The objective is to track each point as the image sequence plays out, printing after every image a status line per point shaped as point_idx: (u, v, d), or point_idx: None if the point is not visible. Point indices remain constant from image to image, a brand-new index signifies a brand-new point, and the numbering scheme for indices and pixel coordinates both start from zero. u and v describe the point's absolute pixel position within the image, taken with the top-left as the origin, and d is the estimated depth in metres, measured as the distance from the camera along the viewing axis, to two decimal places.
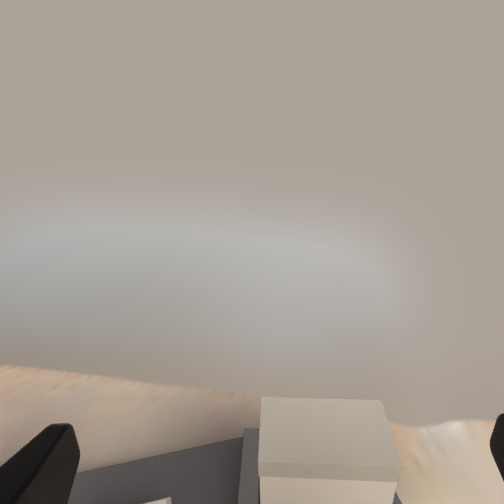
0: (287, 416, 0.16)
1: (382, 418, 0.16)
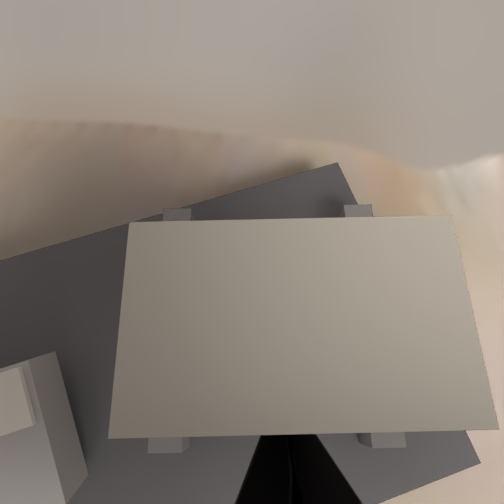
0: (196, 282, 0.06)
1: (452, 274, 0.06)
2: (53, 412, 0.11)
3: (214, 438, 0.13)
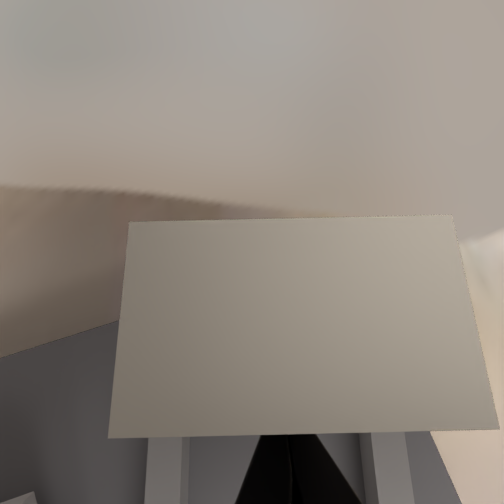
0: (196, 283, 0.06)
1: (452, 272, 0.06)
2: None
3: None
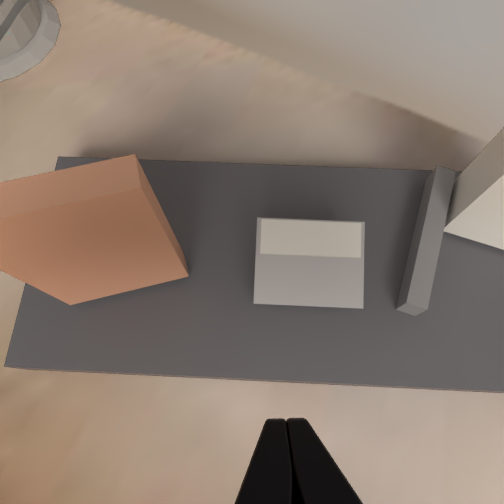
0: None
1: None
2: None
3: (431, 317, 0.20)
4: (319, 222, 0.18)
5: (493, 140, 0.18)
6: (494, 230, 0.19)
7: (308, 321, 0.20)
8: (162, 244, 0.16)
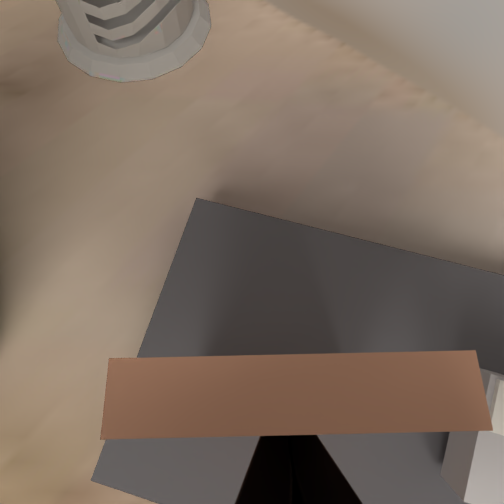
0: None
1: None
2: None
3: None
4: None
5: None
6: None
7: None
8: None
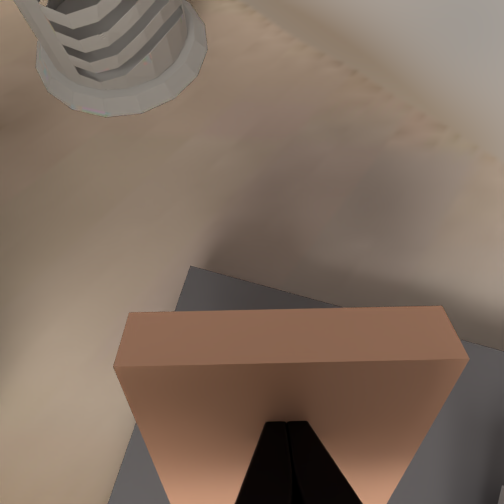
0: None
1: None
2: None
3: None
4: None
5: None
6: None
7: None
8: (393, 467, 0.09)
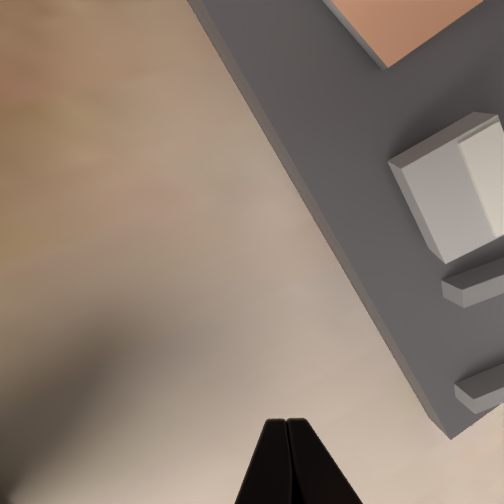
0: None
1: None
2: None
3: (448, 308, 0.21)
4: None
5: None
6: None
7: (394, 219, 0.19)
8: None
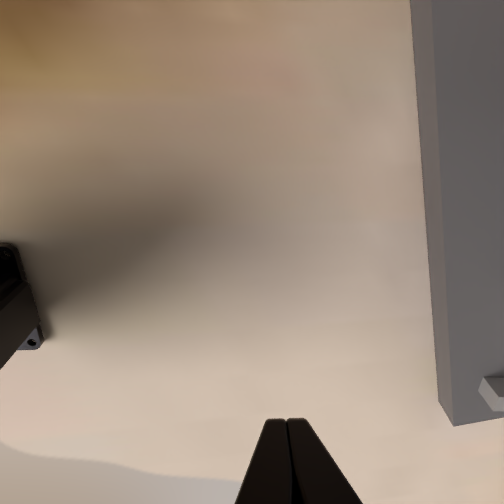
0: None
1: None
2: None
3: None
4: None
5: None
6: None
7: None
8: None
